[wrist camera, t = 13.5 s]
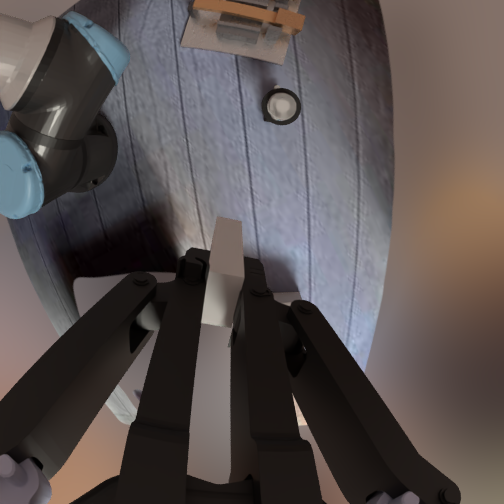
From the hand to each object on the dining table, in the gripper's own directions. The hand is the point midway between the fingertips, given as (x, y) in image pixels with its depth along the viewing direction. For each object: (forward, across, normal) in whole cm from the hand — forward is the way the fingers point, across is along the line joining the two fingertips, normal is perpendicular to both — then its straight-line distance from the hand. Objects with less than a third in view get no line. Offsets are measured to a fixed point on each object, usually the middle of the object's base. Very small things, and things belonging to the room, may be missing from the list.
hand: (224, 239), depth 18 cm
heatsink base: (+32, -4, +29) cm, 44 cm away
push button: (+33, +4, +11) cm, 35 cm away
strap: (+28, -4, +25) cm, 38 cm away
